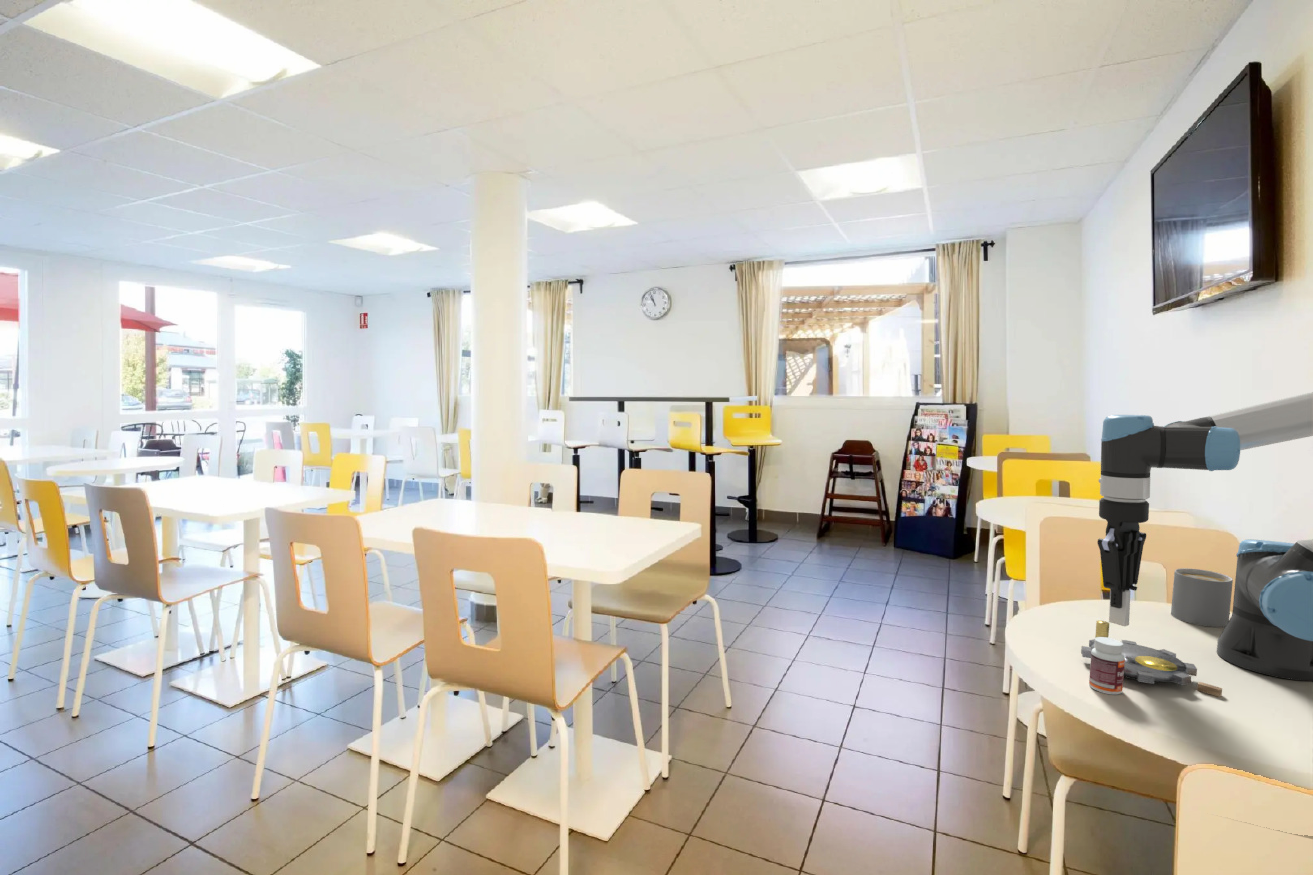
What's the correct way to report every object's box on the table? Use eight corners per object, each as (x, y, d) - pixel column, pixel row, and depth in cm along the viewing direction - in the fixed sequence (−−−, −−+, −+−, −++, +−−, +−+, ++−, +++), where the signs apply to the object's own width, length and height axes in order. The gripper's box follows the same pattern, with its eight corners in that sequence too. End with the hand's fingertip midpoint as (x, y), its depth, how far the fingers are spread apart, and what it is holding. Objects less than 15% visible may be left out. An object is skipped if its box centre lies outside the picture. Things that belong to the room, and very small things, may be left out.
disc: (1124, 640, 131) (1127, 609, 130) (1220, 677, 115) (1223, 642, 115) (1060, 651, 126) (1062, 618, 125) (1150, 691, 110) (1153, 654, 109)
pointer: (1197, 690, 113) (1197, 683, 113) (1199, 688, 114) (1199, 681, 114) (1219, 697, 111) (1220, 690, 111) (1221, 695, 112) (1222, 688, 111)
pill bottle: (1123, 698, 110) (1127, 649, 109) (1089, 690, 113) (1092, 642, 112) (1121, 686, 114) (1125, 639, 113) (1088, 679, 117) (1091, 633, 116)
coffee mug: (1230, 630, 141) (1234, 584, 140) (1170, 619, 147) (1174, 575, 146) (1225, 613, 151) (1230, 570, 150) (1170, 603, 157) (1174, 562, 156)
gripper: (1119, 492, 129) (1115, 611, 131) (1083, 499, 123) (1078, 624, 125) (1164, 498, 123) (1159, 622, 125) (1128, 505, 116) (1123, 636, 118)
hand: (1118, 623), depth 125 cm, fingers closed
